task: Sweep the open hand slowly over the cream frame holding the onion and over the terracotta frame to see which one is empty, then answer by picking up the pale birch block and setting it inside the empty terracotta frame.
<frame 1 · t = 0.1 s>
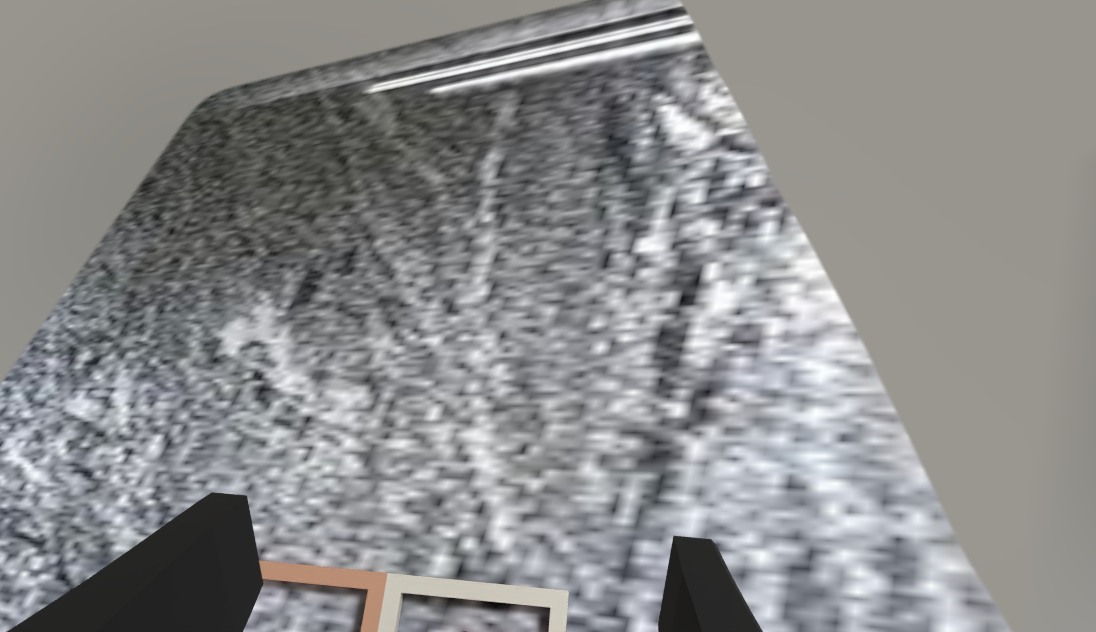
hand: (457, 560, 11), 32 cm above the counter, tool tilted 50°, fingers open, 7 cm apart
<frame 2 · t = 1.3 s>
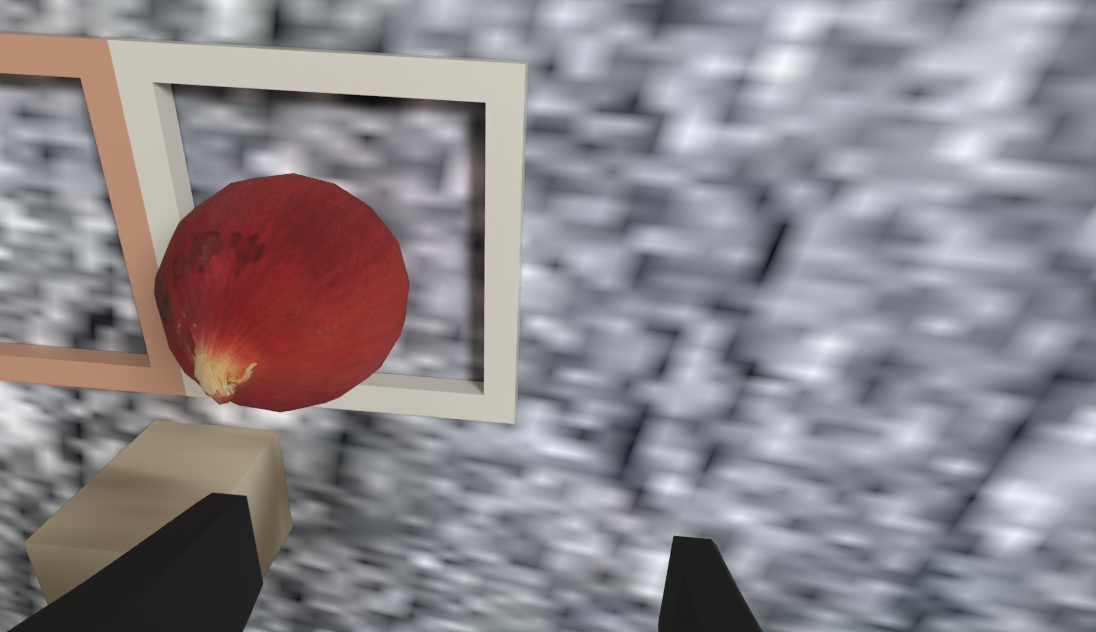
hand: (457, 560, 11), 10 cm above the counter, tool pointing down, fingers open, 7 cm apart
onion: (345, 241, 20), on the counter
birch block: (226, 475, 25), on the counter
cream frame: (342, 243, 20), on the counter
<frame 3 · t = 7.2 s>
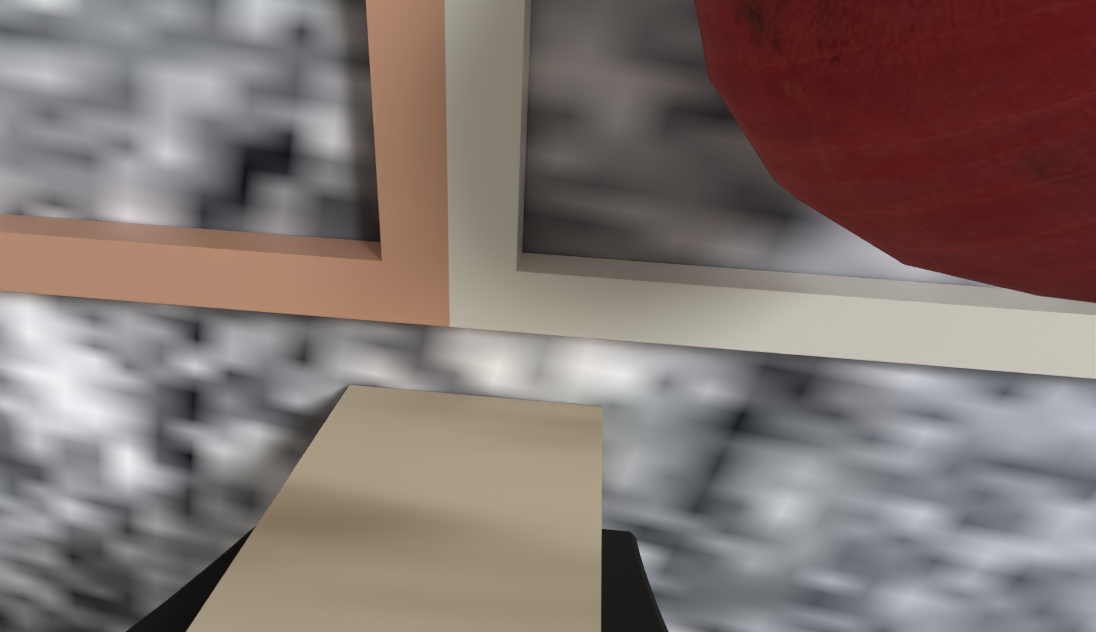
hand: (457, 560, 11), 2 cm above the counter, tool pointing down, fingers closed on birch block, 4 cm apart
birch block: (474, 495, 13), on the counter, touching gripper
when the fingers open (3 cm above the counter, at t = 11.9 s): birch block drops 1 cm, on the counter.
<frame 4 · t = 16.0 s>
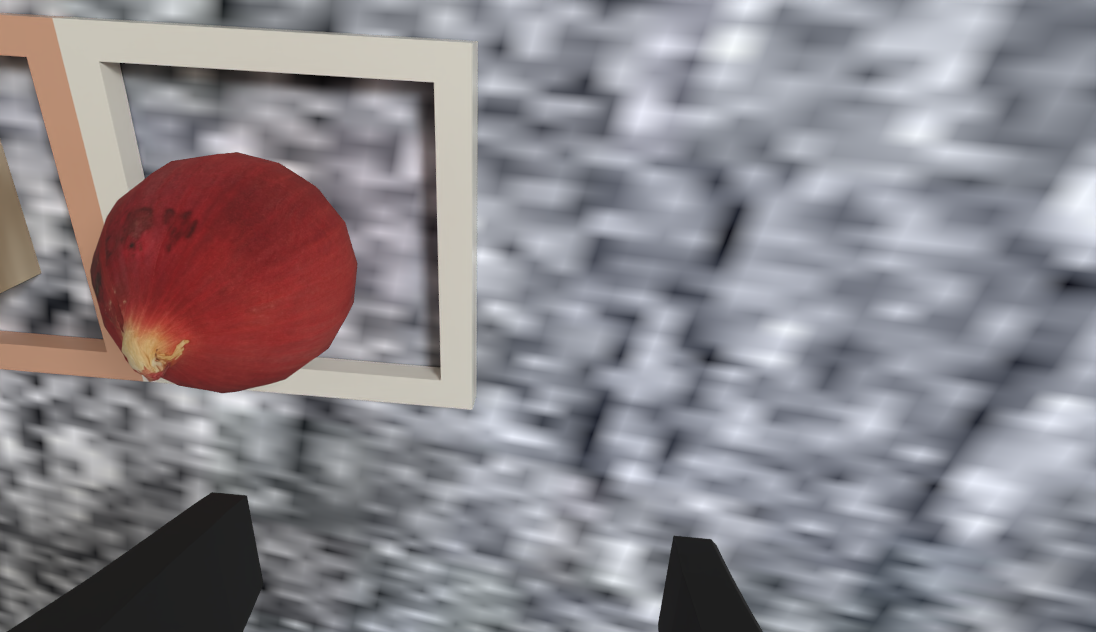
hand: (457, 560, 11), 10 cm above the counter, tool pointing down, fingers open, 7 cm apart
onion: (299, 224, 20), on the counter
cream frame: (296, 226, 20), on the counter
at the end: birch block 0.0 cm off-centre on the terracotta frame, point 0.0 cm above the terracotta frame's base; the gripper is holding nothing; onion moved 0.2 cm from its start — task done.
